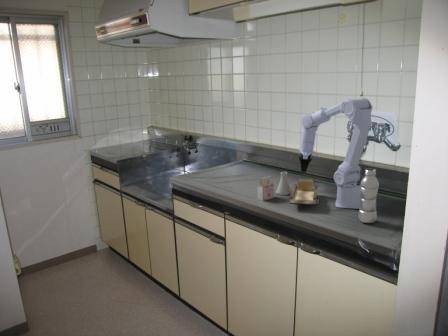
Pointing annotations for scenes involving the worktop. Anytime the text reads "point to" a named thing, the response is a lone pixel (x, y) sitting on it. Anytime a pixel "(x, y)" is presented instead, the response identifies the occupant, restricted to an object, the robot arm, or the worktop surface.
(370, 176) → the plastic bottle
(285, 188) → the flask
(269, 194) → the pink and white carton
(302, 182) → the bronze weight
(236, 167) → the worktop surface
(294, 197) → the small cardboard box
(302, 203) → the beam stand
